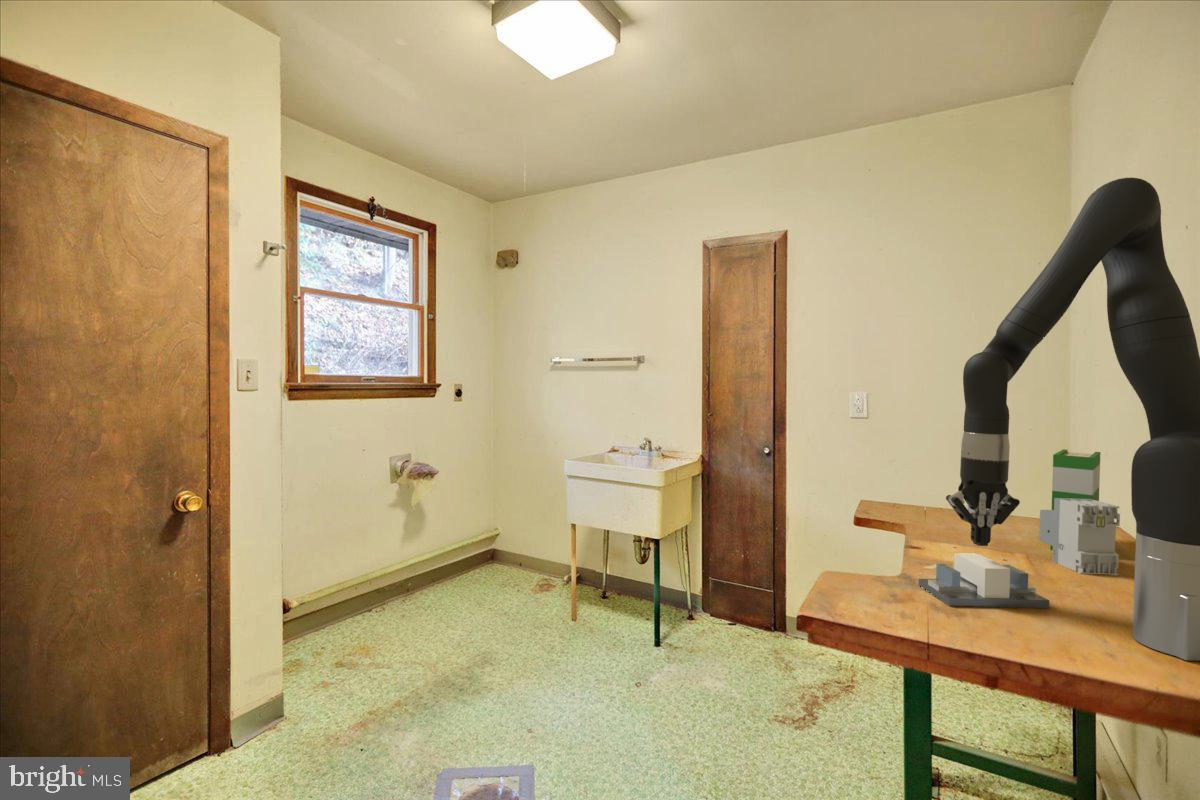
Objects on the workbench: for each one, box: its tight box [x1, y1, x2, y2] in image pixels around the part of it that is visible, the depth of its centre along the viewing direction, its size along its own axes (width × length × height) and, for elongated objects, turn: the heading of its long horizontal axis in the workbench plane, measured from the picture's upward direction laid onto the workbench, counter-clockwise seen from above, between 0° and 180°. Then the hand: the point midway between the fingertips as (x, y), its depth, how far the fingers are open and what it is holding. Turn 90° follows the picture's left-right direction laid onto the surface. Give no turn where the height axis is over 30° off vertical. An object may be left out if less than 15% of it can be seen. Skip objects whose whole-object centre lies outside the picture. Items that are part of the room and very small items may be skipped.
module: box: [953, 552, 1010, 598], centre depth 103 cm, size 9×4×6 cm, turn 178°
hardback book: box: [1049, 449, 1101, 551], centre depth 136 cm, size 18×7×24 cm, turn 133°
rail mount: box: [918, 563, 1050, 609], centre depth 103 cm, size 10×18×6 cm, turn 88°
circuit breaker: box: [1038, 498, 1121, 576], centre depth 122 cm, size 8×14×15 cm, turn 174°
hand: (980, 544), depth 103 cm, fingers closed
